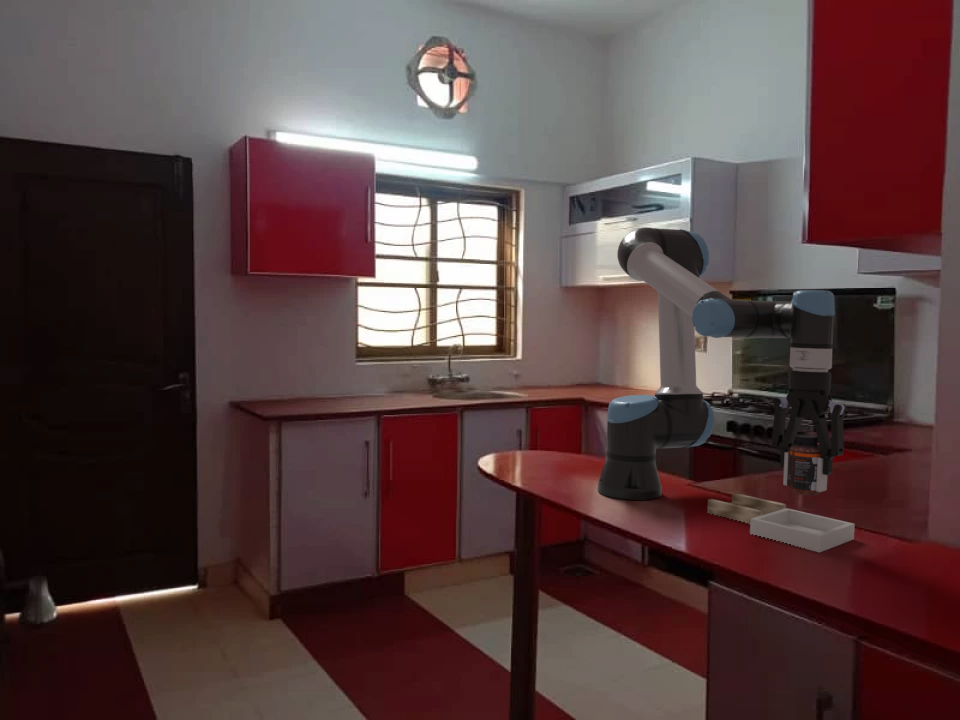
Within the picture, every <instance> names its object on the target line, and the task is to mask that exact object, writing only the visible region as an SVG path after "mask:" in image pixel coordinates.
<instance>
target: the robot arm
mask: <svg viewBox="0 0 960 720" xmlns="http://www.w3.org/2000/svg"><path fill="white" fill-rule="evenodd" d="M616 255H617V260H618V264H619V266H620V268H621V269H622V270H623V272H624V273H625V274H626V275H628V276H629V277H631V278H632V279H633V280H635V281H638V282H644V283H645V284H647V285H648V286H650V287H651V288H653V289H654V290H655V291H656V292H657V305H658V307H657V308H658V342H659V343H658V344H659V345H658V346H659V368H660V369H659V375H660V377H659V378H660V387H659V388H658V389H657V390H656V391H655V392H654V395H651V394H638V395H637V394H631V395H624V396H620V397H619V396H618V397H616V398H614V399H612V400H611V401H610V402H609V404H608V409H607V416H606V420H607V422H606V423H607V425H606V426H607V427H606V429H607V430H606V455H605V456H606V457H605V462H604V464H603V468H602V470H601V473H600V477H599V479H598V481H597V492H598V493H600V494H601V495H603V496H606V497H610V498H614V499H620V500H621V499H622V500H629V501H630V500H631V501H632V500H633V501H645V500H646V501H647V500H655V499H658V498H660V497H661V496H662V493H663V492H662V489H663V485H662V483H661V480H660V476H659V472H658V467H657V464H656V454H657V453H656V451H657V449H673V448H674V449H675V448H676V449H677V448H682V449H683V448H684V449H688V448H691V447H699V446H701V445H704V443H706V442H707V441H708V439H710V436H711V435H712V433H713V430H714V426H715V413H714V409H713V408H712V406H711V404H710V403H709V402H708V401H706V400H704V392H703V391H702V390H701V389H700V388H699V387H698V386H697V372H696V370H697V369H696V368H697V367H696V366H697V365H696V360H697V359H696V342H695V341H696V337H695V336H696V335H695V334H696V333H697V334H699V335H700V336H703V337H711V338H715V339H719V338H759V339H760V338H761V339H763V338H766V339H772V338H773V339H790V349H789V350H790V353H789V367H790V368H791V369H792V370H789V372H788V393H787V395H786V396H784V397H775V398H773V399H772V403H773V408H774V416H773V426H772V434H771V435H772V436H771V442H770V443H771V446H772V448H773V447H774V448H776V449H778V450H779V451H780V458H779V459H780V462H779V464H780V467H781V468H783V479H782V480H783V484H782V485H783V486H788V481H789V458H790V448H791V446H793V445H794V442H795V440H796V435H798V431H799V428H800V426H801V423H802V421H803V420H804V419H805V417H806V418H808V419H811V422H812V424H813V426H814V428H815V433H816V436H817V438H818V446H819V447H820V450H821V454H822V456H820V457H819V458H818V462H817V484H816V491H817V492H821V493H822V492H825V491H828V490H827V488H828V486H827V485H828V476H829V475H832V473H833V460H834V458H835V457H840V456H842V455H844V453H845V452H844V451H845V449H844V447H845V445H844V442H845V441H844V437H845V436H844V435H845V434H844V415H845V412H846V410H847V405H846V404H845V403H838V402H836V401H833V400H832V399H833V398H832V397H831V384H832V373H831V372H830V371H829V370H831V369H832V368H833V346H834V345H833V342H834V341H833V339H834V325H835V315H836V309H835V307H836V305H835V295H834V293H833V292H832V291H830V290H820V289H819V290H817V289H816V290H814V289H813V290H811V289H808V290H806V289H805V290H803V289H801V290H795V291H794V292H793V294H792V299H791V301H789V300H788V301H780V300H779V301H777V300H776V301H775V300H771V301H770V300H745V299H733V298H730V297H729V296H727V295H726V294H724V293H722V292H721V291H719V290H718V289H716V288H715V287H714V286H712V285H710V284H709V283H707V282H706V281H704V280H703V279H702V278H700V277H702V276H703V275H704V274H705V272H706V271H707V267H708V266H709V261H710V254H709V248H708V245H707V243H706V241H705V239H704V238H703V237H702V236H701V235H700V234H699V233H697V232H694V231H690V230H685V229H672V228H671V229H670V228H656V227H644V226H643V227H638V228H636V229H634V230H631V231H629V232H628V233H627V234H625V236H623V238H622V239H621V241H620V242H619V245H618V249H617V254H616ZM695 332H696V333H695ZM788 406H790V408H791V412H790V415H789V421H788V424H787V427H786V423H787V421H786V420H787V413H788V412H787V408H788ZM829 408H830V409H829ZM827 410H829V412H830V414H831V416H830V431H831V432H829V429H828V424H827V421H828V419H827V416H826V411H827ZM830 433H831V434H830Z"/></svg>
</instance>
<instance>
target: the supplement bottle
mask: <svg viewBox="0 0 960 720" xmlns="http://www.w3.org/2000/svg"><path fill="white" fill-rule="evenodd" d="M794 442H795V444H793V446H791V448H790V458H789V481H788V485H787V486H788V491H789V492H791V493H794V494H797V495H802V496H819V494H821V493H822V492H817V491H816V484H817V462H818V458H819V457H820V456H822V454H821V450H820V446H819V442H818V438H817V435H813V434H804V433H803V434H801V433H800V434H799V433H798V434H797V435H796V437H795V440H794Z"/></svg>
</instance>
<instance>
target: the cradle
mask: <svg viewBox="0 0 960 720" xmlns="http://www.w3.org/2000/svg"><path fill="white" fill-rule="evenodd" d="M786 508H787V504H786V503H782V502H778V501H773V500H768V499H764V498H759V497H755V496H751V495H747V494H742V493H738V492H735V493H731V502H726V501H722V500H718V499H714V498H709V499H707V514H708V513H710V514H709V515H712V514H714V515H713V516H716V515H718V516H717V517H720V516H722V517H721V518H723V517H726V518H725V519H727V518H729V519H728V520H731V519H733V520H732V521H735V520H737V521H736V522H739V521H741V522H740V523H743V522H745V523H744V524H747V523H748V524H747V525H750V522H751V518H755V517H758V516H762V515H765V514H769V513H772V512H775V511H779V510H782V509H786Z"/></svg>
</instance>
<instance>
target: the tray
mask: <svg viewBox="0 0 960 720" xmlns="http://www.w3.org/2000/svg"><path fill="white" fill-rule="evenodd" d="M749 525H750V528H749V534H750V535H752V534H753V535H752V536H755V535H757V536H756V537H759V536H761V537H760V538H763V537H765V538H764V539H767V538H769V539H768V540H770V539H773V540H772V541H774V540H776V541H775V542H778V541H781V542H780V543H782V542H784V543H783V544H785V543H787V544H786V545H789V544H791V545H790V546H793V545H794V546H793V547H797V546H798V547H797V548H800V547H801V548H802V549H804V548H805V549H804V550H808V551H812V552H816V553H822V552H824V551H825V552H826V551H827V550H829V549H832V548H836V547H837V546H840V545H843V544H845V543H848V542H851V541H852V540H854V539H855V523H853V522H850V521H849V522H848V521H843V520H840V519H835V518H832V517H827V516H823V515H819V514H814V513H808V512H804V511H800V510H796V509H792V508H787V507H786V509H782V510H779V511H775V512H772V513H769V514H765V515H763V514H762V516H758V517H755V518H751V522H750V524H749Z"/></svg>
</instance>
